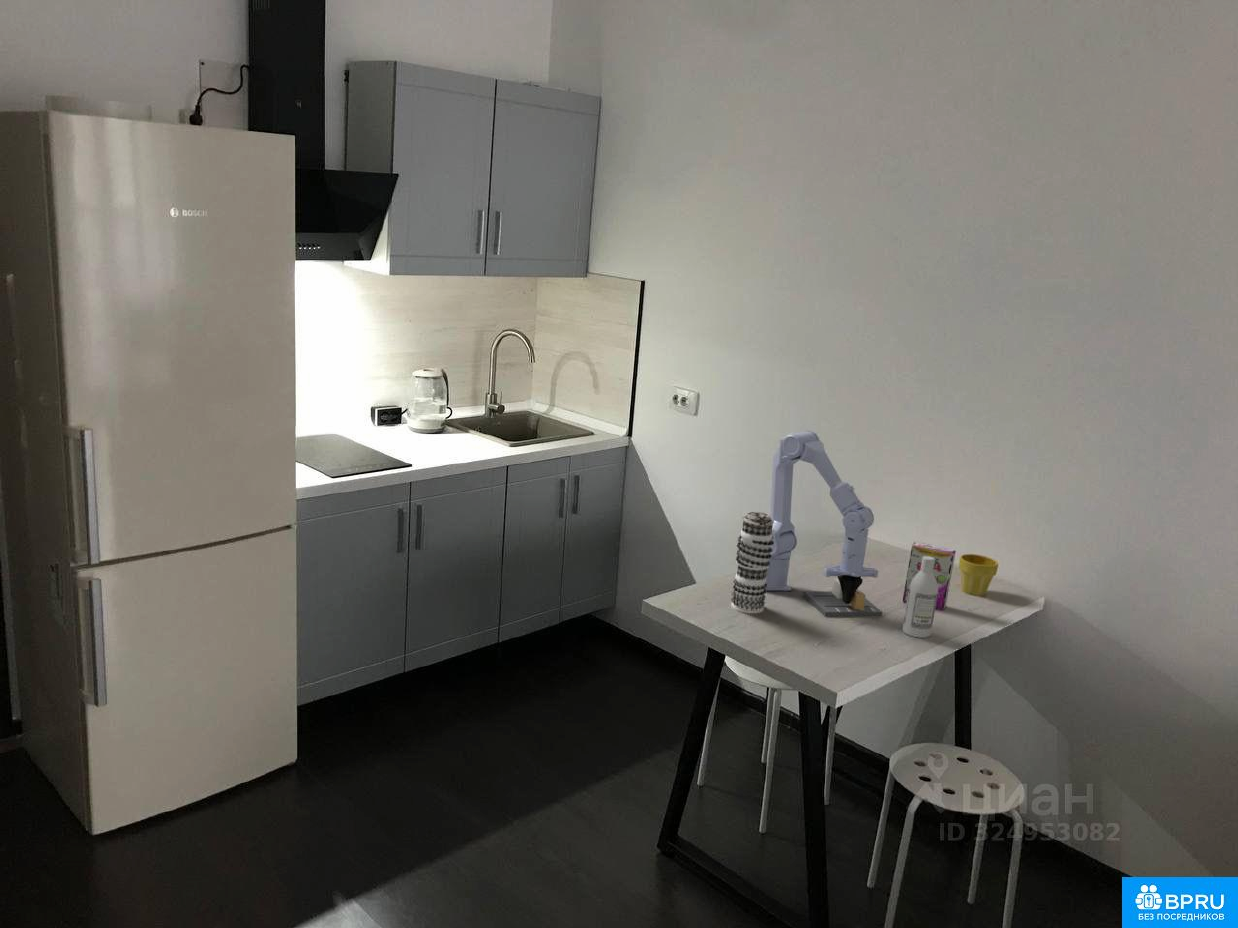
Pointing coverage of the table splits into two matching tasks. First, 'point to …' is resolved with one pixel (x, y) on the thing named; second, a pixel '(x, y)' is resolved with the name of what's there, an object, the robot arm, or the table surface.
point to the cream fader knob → (837, 589)
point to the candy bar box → (940, 569)
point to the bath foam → (921, 601)
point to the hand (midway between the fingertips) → (846, 602)
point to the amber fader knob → (858, 600)
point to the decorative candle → (752, 563)
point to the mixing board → (839, 605)
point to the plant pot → (976, 573)
